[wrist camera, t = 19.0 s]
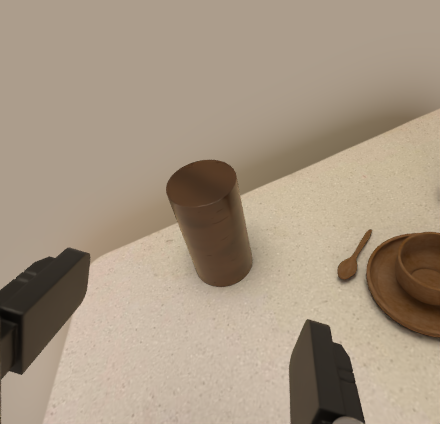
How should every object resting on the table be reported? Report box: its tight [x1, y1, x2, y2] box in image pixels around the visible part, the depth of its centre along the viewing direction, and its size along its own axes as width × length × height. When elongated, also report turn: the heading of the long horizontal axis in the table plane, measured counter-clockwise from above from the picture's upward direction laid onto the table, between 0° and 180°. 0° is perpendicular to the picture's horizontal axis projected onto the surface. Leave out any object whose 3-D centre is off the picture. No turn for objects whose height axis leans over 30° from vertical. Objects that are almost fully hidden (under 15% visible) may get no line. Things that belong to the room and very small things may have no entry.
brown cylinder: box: [166, 160, 252, 287], centre depth 40 cm, size 7×7×13 cm
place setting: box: [338, 229, 440, 338], centre depth 33 cm, size 18×20×6 cm
